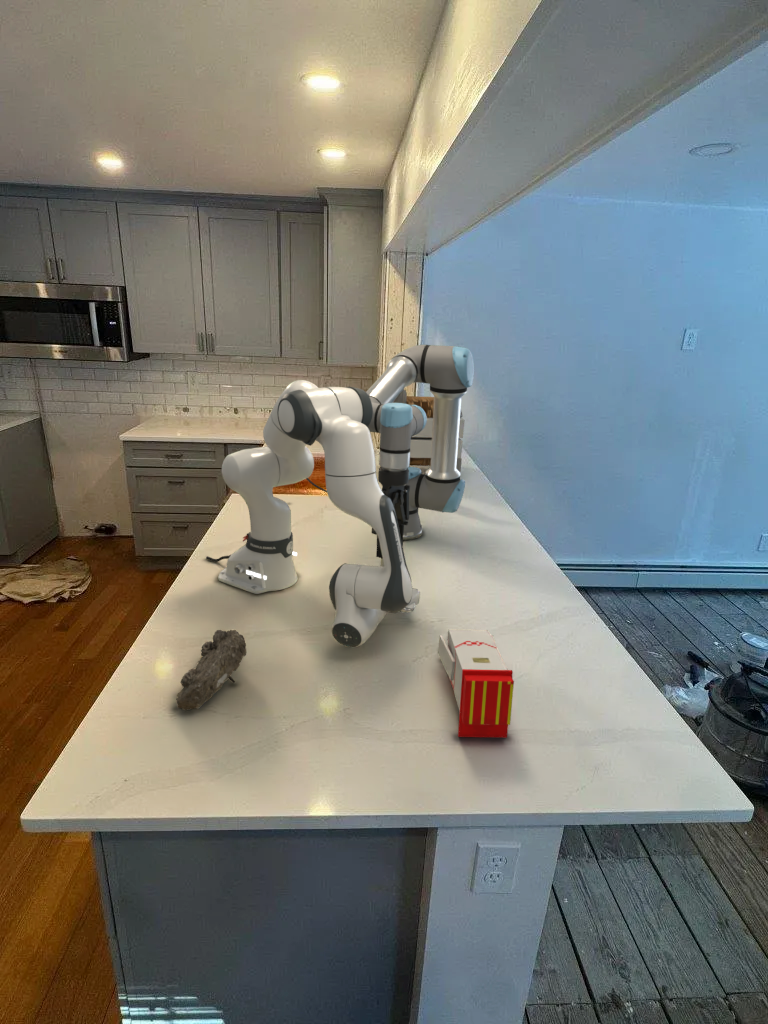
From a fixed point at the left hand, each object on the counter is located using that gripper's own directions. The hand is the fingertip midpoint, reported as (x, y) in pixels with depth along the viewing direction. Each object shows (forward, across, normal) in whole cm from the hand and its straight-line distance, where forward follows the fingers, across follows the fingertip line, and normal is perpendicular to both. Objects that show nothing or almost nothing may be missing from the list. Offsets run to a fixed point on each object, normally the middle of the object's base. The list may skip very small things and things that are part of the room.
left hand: (389, 580), depth 151 cm
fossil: (-46, +22, +7) cm, 52 cm away
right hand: (-1, 0, -8) cm, 9 cm away
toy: (-30, -28, +7) cm, 41 cm away
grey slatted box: (+127, +27, +7) cm, 130 cm away
